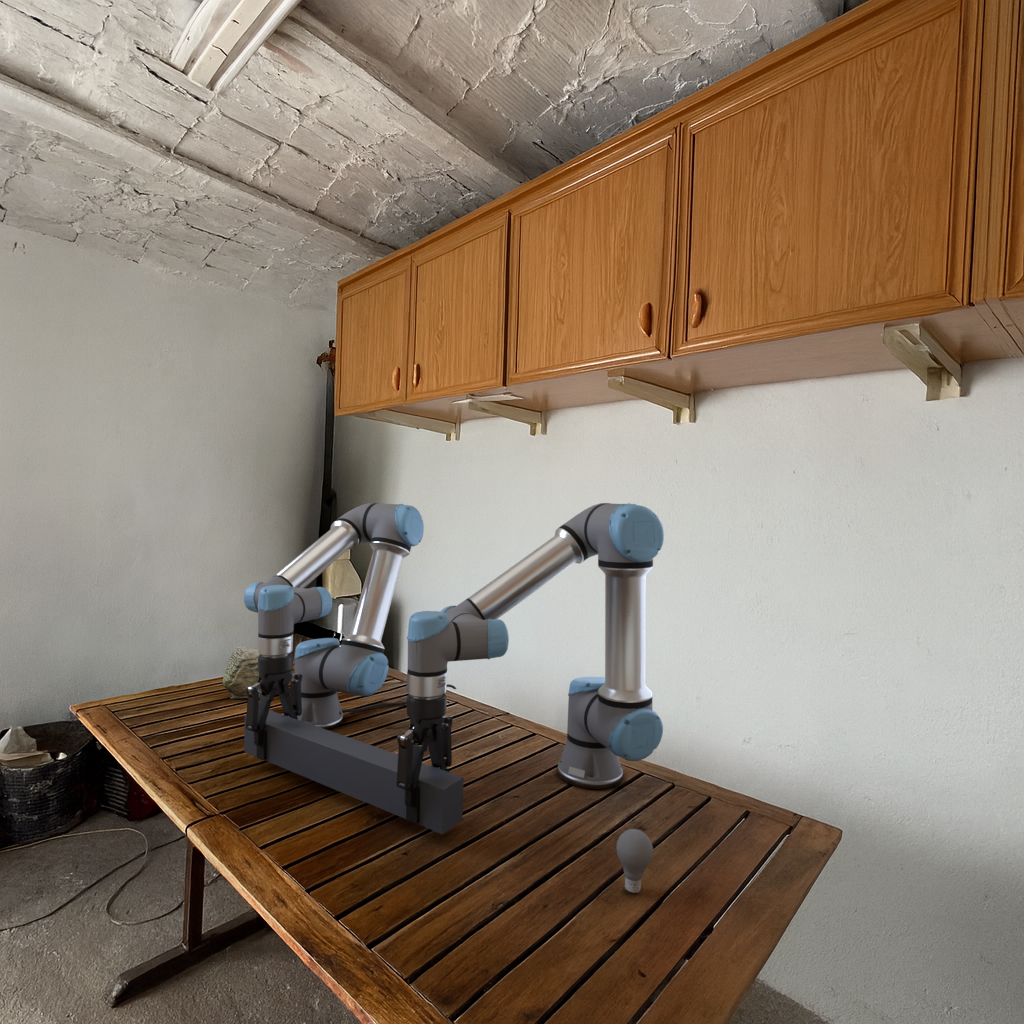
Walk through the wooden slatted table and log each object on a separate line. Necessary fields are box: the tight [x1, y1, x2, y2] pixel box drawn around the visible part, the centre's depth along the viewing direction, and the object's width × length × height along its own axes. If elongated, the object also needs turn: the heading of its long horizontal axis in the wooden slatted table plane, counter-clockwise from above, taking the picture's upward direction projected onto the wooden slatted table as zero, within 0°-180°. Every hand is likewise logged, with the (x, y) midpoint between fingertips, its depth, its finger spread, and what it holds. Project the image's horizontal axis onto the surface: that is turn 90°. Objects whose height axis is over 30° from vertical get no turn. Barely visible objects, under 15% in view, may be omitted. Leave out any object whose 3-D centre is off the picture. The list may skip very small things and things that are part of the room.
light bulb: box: [615, 828, 654, 894], centre depth 106 cm, size 6×6×10 cm
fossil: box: [222, 646, 269, 699], centre depth 198 cm, size 9×18×15 cm, turn 132°
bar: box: [243, 709, 465, 835], centre depth 133 cm, size 59×6×8 cm, turn 57°
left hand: (274, 752), depth 146 cm, fingers closed on bar, 6 cm apart
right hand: (424, 813), depth 121 cm, fingers closed on bar, 6 cm apart
